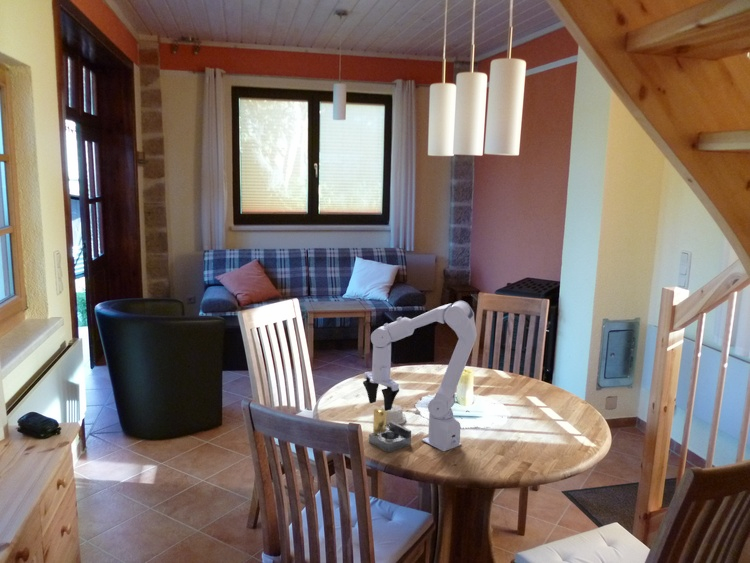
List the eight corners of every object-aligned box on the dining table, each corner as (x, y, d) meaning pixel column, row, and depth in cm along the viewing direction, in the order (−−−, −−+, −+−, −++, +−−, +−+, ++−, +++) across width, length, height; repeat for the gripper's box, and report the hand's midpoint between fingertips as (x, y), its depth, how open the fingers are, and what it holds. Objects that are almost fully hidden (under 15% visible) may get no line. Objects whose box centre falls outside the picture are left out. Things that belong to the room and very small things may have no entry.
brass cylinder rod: (388, 432, 190) (389, 411, 189) (378, 435, 187) (379, 414, 186) (380, 428, 193) (380, 407, 192) (370, 431, 190) (371, 410, 189)
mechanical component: (373, 424, 196) (403, 427, 194) (373, 411, 196) (403, 414, 194) (379, 413, 206) (408, 416, 204) (379, 401, 205) (408, 404, 203)
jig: (410, 444, 181) (411, 430, 180) (388, 452, 175) (388, 438, 175) (391, 434, 188) (391, 421, 187) (369, 441, 182) (369, 427, 182)
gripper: (357, 361, 189) (356, 401, 192) (386, 373, 178) (385, 416, 181) (374, 357, 194) (373, 397, 196) (404, 368, 183) (402, 411, 185)
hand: (380, 406), depth 189 cm, fingers open, 7 cm apart
